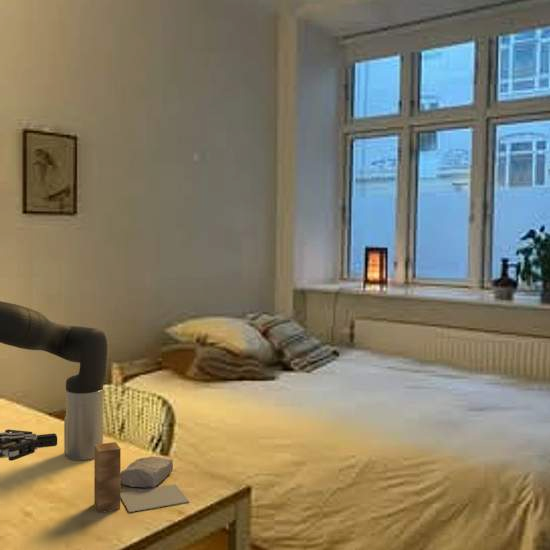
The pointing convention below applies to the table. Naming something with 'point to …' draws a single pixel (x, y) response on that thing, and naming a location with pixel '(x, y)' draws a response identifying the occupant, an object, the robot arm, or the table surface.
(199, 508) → the table surface
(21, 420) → the table surface
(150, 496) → the felt pad
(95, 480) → the walnut block
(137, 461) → the stone block
